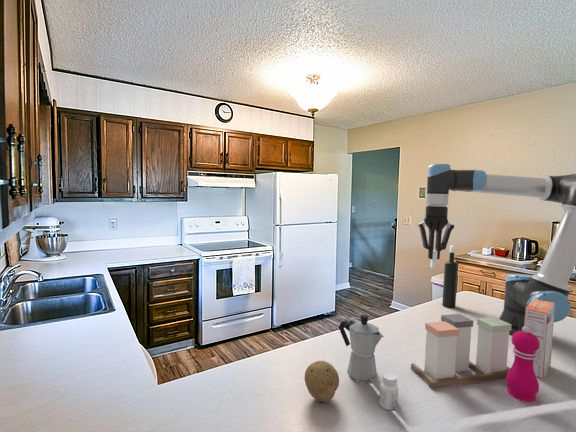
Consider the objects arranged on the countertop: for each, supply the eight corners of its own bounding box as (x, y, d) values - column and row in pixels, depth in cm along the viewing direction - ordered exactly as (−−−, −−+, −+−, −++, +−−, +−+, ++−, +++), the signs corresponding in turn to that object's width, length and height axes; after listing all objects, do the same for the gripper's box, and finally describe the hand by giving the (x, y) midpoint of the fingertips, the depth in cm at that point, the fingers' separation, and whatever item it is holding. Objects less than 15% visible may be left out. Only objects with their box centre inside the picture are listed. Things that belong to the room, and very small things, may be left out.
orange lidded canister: (422, 374, 96) (425, 322, 95) (441, 371, 98) (445, 321, 96) (435, 385, 91) (438, 330, 89) (455, 382, 92) (459, 329, 91)
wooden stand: (401, 369, 101) (401, 359, 101) (484, 359, 108) (485, 350, 108) (428, 394, 88) (429, 384, 88) (521, 382, 96) (522, 372, 95)
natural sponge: (317, 384, 92) (318, 350, 91) (345, 397, 86) (346, 361, 85) (297, 399, 85) (298, 362, 84) (326, 415, 79) (327, 375, 78)
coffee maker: (388, 377, 96) (391, 317, 95) (374, 390, 90) (377, 326, 89) (345, 359, 106) (347, 304, 105) (329, 369, 100) (331, 311, 99)
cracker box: (528, 359, 109) (533, 297, 108) (551, 366, 105) (556, 302, 104) (519, 374, 100) (524, 307, 98) (543, 383, 95) (549, 313, 94)
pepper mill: (526, 392, 91) (532, 321, 89) (544, 409, 84) (550, 333, 82) (499, 389, 91) (504, 320, 90) (514, 406, 84) (520, 331, 83)
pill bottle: (397, 402, 85) (398, 373, 84) (397, 412, 81) (398, 382, 80) (379, 398, 86) (381, 370, 86) (378, 408, 82) (380, 378, 82)
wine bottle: (453, 304, 162) (457, 244, 160) (456, 308, 156) (460, 246, 154) (441, 303, 163) (444, 244, 161) (443, 307, 158) (447, 245, 156)
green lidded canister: (474, 368, 100) (477, 318, 99) (491, 365, 102) (495, 317, 101) (489, 378, 95) (492, 326, 94) (507, 375, 96) (511, 324, 95)
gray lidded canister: (438, 363, 103) (441, 315, 101) (456, 361, 104) (459, 313, 103) (451, 373, 97) (454, 322, 96) (470, 370, 99) (473, 320, 98)
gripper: (451, 205, 126) (447, 266, 128) (416, 204, 127) (412, 264, 129) (459, 206, 118) (455, 270, 120) (421, 205, 120) (418, 268, 122)
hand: (433, 267), depth 125 cm, fingers closed
